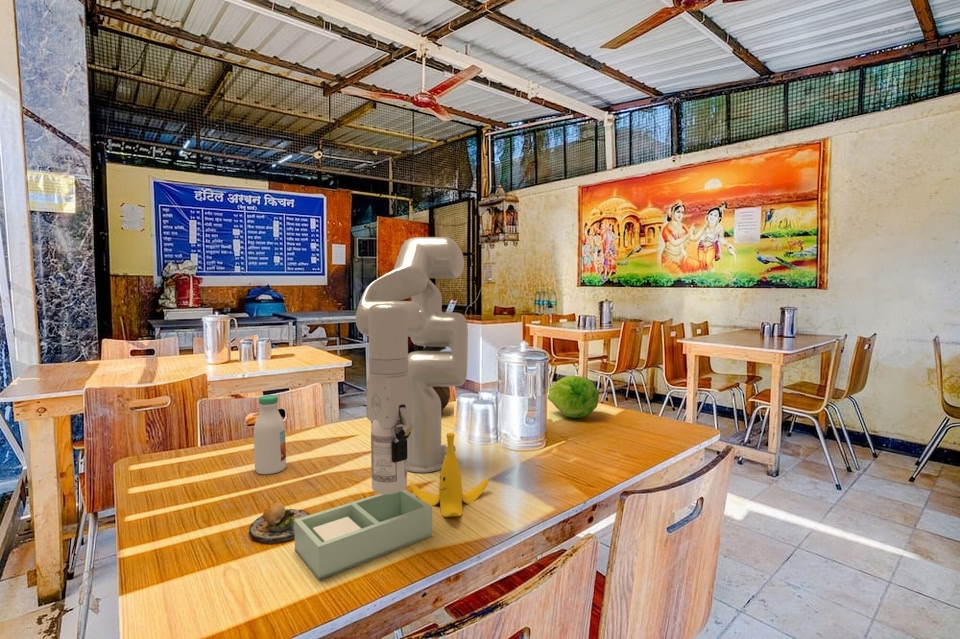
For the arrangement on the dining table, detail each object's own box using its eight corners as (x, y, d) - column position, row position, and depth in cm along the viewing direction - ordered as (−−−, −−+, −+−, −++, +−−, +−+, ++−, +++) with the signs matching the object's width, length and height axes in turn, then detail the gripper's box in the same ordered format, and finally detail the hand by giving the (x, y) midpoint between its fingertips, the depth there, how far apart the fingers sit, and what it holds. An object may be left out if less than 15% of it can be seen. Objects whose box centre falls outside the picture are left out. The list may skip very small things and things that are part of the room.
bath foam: (391, 478, 102) (390, 383, 100) (414, 487, 97) (413, 388, 96) (364, 488, 97) (363, 389, 95) (387, 498, 92) (385, 394, 91)
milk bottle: (274, 476, 126) (272, 400, 125) (248, 473, 128) (245, 399, 126) (291, 465, 134) (289, 393, 132) (266, 463, 136) (264, 392, 134)
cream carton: (348, 536, 96) (347, 516, 96) (364, 551, 90) (363, 530, 90) (312, 548, 91) (312, 528, 91) (327, 565, 86) (327, 543, 86)
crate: (401, 513, 106) (401, 487, 106) (432, 536, 97) (432, 506, 97) (294, 550, 92) (294, 519, 91) (319, 580, 83) (318, 546, 82)
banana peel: (452, 529, 100) (452, 450, 99) (407, 497, 115) (406, 427, 114) (513, 507, 110) (513, 434, 109) (464, 479, 125) (464, 416, 124)
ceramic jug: (453, 409, 193) (453, 334, 190) (445, 420, 177) (445, 338, 175) (411, 407, 195) (411, 333, 192) (400, 418, 180) (399, 338, 177)
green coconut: (558, 408, 195) (558, 369, 194) (606, 416, 184) (607, 375, 182) (537, 417, 181) (537, 376, 180) (588, 427, 170) (589, 382, 168)
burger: (317, 535, 98) (316, 500, 97) (253, 554, 92) (252, 516, 91) (303, 510, 108) (302, 478, 107) (245, 526, 102) (243, 491, 101)
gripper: (351, 362, 100) (352, 447, 101) (393, 375, 86) (394, 473, 87) (384, 359, 104) (385, 440, 106) (429, 370, 91) (429, 463, 92)
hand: (389, 454), depth 97 cm, fingers closed on bath foam, 7 cm apart
